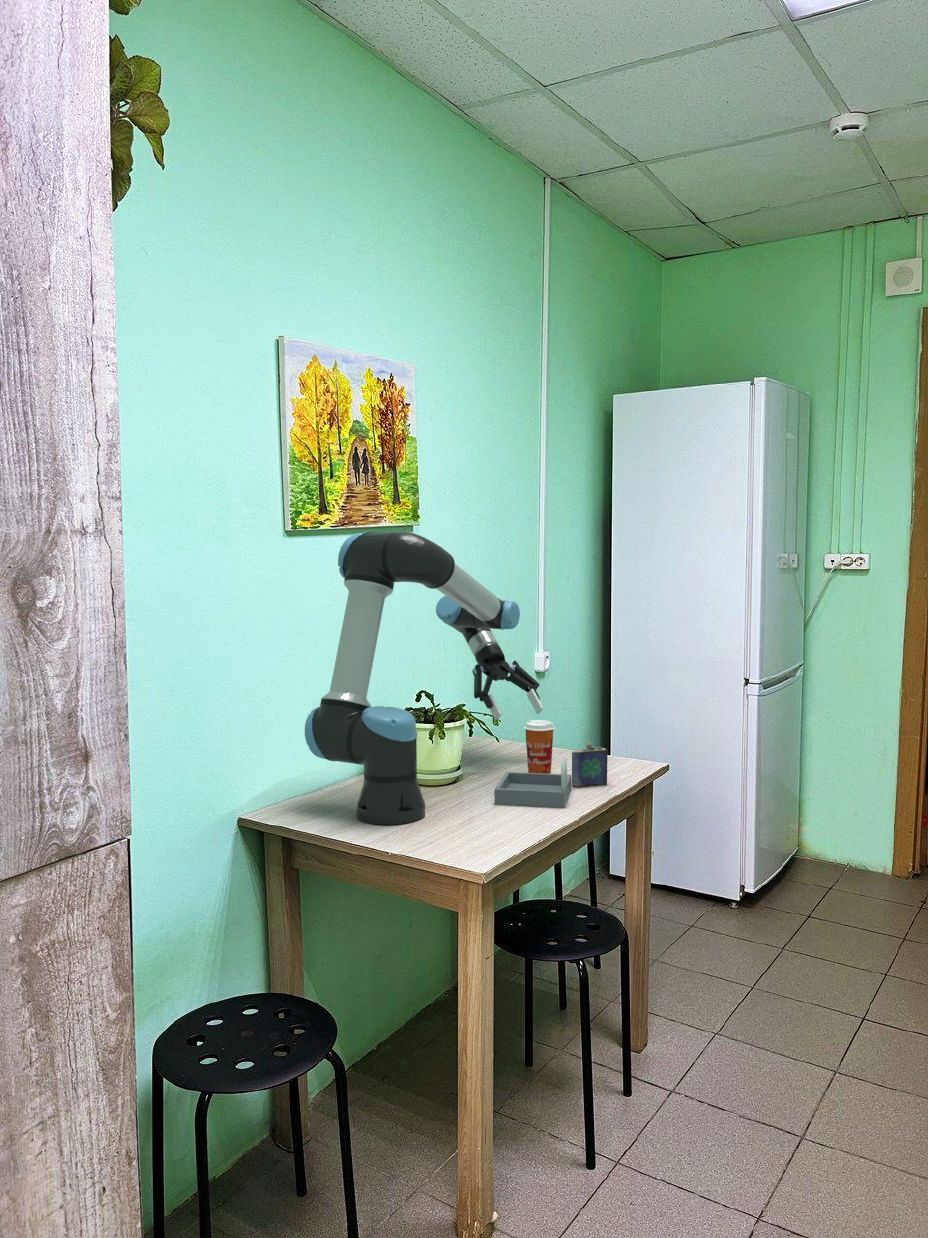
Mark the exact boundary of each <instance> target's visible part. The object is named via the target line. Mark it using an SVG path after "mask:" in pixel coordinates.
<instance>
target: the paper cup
mask: <svg viewBox="0 0 928 1238" xmlns="http://www.w3.org/2000/svg"><path fill="white" fill-rule="evenodd" d="M554 725H555V724H554V723H553V722H552V721H550V720H546V719H545V720H544V719H538V720H537V719H534V720H533V719H532V720H528V721H527V722H525V725H524V727H523V728H524V729H525V742H526V743H525V744H526V745H525V746H526V757H527V758H526V759H527V773H545V774H552V761H553V760H552V759H553V743H554V742H553V741H554V730H555V729H556V727H555V726H554Z"/></svg>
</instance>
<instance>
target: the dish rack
mask: <svg viewBox="0 0 928 1238" xmlns="http://www.w3.org/2000/svg"><path fill="white" fill-rule="evenodd" d="M493 790H494V792H493V793H494V794H493V795H494V797H493V799H494V800H493V801H494V802H493V803H494V805H501V806H502V805H505V806H519V807H520V806H521V807H538V808H539V807H541V808H542V807H543V808H558V809H559V807H560V809H565V808H566V805H567V802H568V800H569V797H570V794H571V791H572V774H568V757H567V756H564V757H563V759H562V760H561V762H560V773H551V774H545V773H528V772H522V771H521V772H520V771H519V772H518V771H516V772H515V771H506V772H504V774H503V776H502V777H501V779H500V781H499V782H498V783H497V785H496V786H495V788H494V789H493ZM568 796H569V797H568ZM567 799H568V800H567Z"/></svg>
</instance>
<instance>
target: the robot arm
mask: <svg viewBox="0 0 928 1238" xmlns="http://www.w3.org/2000/svg"><path fill="white" fill-rule="evenodd" d="M337 557H338V558H337V566H338V567H339V569H338V571H339V573H340V575H341V577H342V578H343V580H344V581H343V585H344V587H345V588H346V589H347V590H348V594H347V599H346V605H345V609H344V614H343V620H342V626H341V632H340V635H339V641H338V646H337V650H336V651H337V652H336V657H335V662H334V667H333V671H332V672H333V673H332V677H331V681H330V687H329V691H328V692H327V693H326V694H325V695H323V696H322V697H321V699H320V704H319V706H318V707H316V708H313V709H312V710H311V711H310V713H308V715H307V717H306V720H305V724H304V738H305V743H306V745H307V746H308V749H309V751H310V752H311V753H312V754H313V755H314V756H315V757H317V758H320V759H323V760H327V761H329V762H340V763H347V764H355V765H362V766H363V784H362V787H361V790H360V793H359V798H358V801H357V804H356V818H357V819H358V820H360V821H362V822H364V823H368V824H372V825H402V824H407V823H412V822H416V821H419V820H420V819H422V818H424V817H425V816H426V801H425V800H424V796H423V793H422V791H421V787H420V785H419V782H418V770H417V769H418V768H417V766H418V763H417V762H418V759H417V758H418V756H417V753H418V752H417V748H418V747H417V738H418V731H417V724H416V718H415V717H414V715H413V714H412V713H411V712H410V711H408V710H406V709H402V708H399V707H395V706H383V705H380V706H379V705H376V706H372V705H371V703H370V702H369V700H368V698H367V697H368V692H369V685H370V681H371V680H370V679H371V675H372V670H373V666H374V660H375V659H374V658H375V654H376V650H377V642H378V637H379V632H380V628H381V623H382V615H383V610H384V605H385V601H386V600H385V599H386V598H387V597H389V596H390V595H392V594H393V592H394V587H395V586H394V585H395V583H415V584H416V583H417V584H421V585H423V586H425V587H426V588H428V589H432V590H437V591H439V592H440V593H441V594H443V595H444V596H442V597H441V598H440V599H439V600H438V601H437V603H436V607H435V613H436V616H437V618H439V619H440V620H441V621H442V622H443V624H446V625H448V626H449V627H451V628H453V629H454V630H456V631H458V632H459V633H460V634H462V636H463V638H464V639H465V642H466V643H467V645H468V647H469V649H470V652H471V653H472V655H473V657H474V658H475V659H474V660H475V661H476V663H477V664H475V666H474V667H473V669H472V675H473V679H474V680H473V697H474V699H479V701H480V702H482V703H484V705H485V707H486V708H487V709H489V710H490V713H491V714H492V716H493V718H494V721H499V719H500V718H501V716H502V714H503V713H502V712H501V709H500V708H499V705H498V703H497V701H496V699H495V698H494V696H493V694H492V693H489V692H490V691H491V686H492V683H493V681H494V682H497V681H506V682H511V683H512V684H513V685H515V686H517V687H518V688H520V689H521V690H523V691H525V692H526V693H527V694H526V696H527V698H528V700H529V702H530V704H531V706H532V707H533V709H534V711H535V713H536V715H540V714H541V713H542V712H543V710H544V706H543V704H542V702H541V698H540V696H539V693H538V692H537V690H538V688H539V687H540V683H539V682H538V681H537V680H536V679H535V678H533V677H532V676H531V675H530V674H529V673H528V672H527V671H526V670H525V669H523V667H521V665H520V664H519V663H518V662H517V660H513V662H511V663H508V662H507V661H506V657H505V653H504V652H503V650H502V648H501V646H500V645H499V642H498V640H497V639H496V636H495V635H494V633H493V631H492V630H501V631H504V630H513V629H515V628H517V626H518V624H519V622H520V617H521V616H520V615H521V612H520V611H521V610H520V607H519V604H518V603H517V602H515V601H514V600H507V599H505V600H503V599H500V598H499V597H497V595H495V594H494V593H493V592H492V591H490V590H489V589H487V588H486V587H485V586H484V585H482V584H481V583H480V582H479V581H478V580H476V579H475V578H474V577H473V576H472V575H470V574H469V573H467V572H466V571H465V570H464V569H462V568H461V567H460V566H459V565H458V564H457V563H456V561H455V558H454V557H453V555H451V553H449V552H448V551H447V550H445V549H444V548H443V547H442V546H440V545H439V544H438V543H436V542H433V540H430V539H428V538H426V537H424V536H422V535H419V534H416V533H414V532H409V531H408V532H407V531H383V532H382V531H365V532H358V533H354V534H351V535H350V536H349V537H347V538H346V539H345V540H344V542H343V543H342V545H341V546H340V548H339V553H338V556H337ZM491 629H492V630H491ZM483 674H484V675H485V676H486V679H485V683H484V686H483ZM509 674H510V675H509ZM482 688H483V689H482Z"/></svg>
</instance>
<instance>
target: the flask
mask: <svg viewBox="0 0 928 1238" xmlns="http://www.w3.org/2000/svg"><path fill="white" fill-rule="evenodd" d="M584 744H586V746H585V748H584V749H575V750H572V751H571V788H579V789H581V788H590V787H589V786H592V787H597V786H599V787H601V786H603V785H605V786H607V785H608V753H609V751H608V748H604V747H601V746H593V745H592V742H591V741H586V742H585V743H584Z"/></svg>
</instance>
